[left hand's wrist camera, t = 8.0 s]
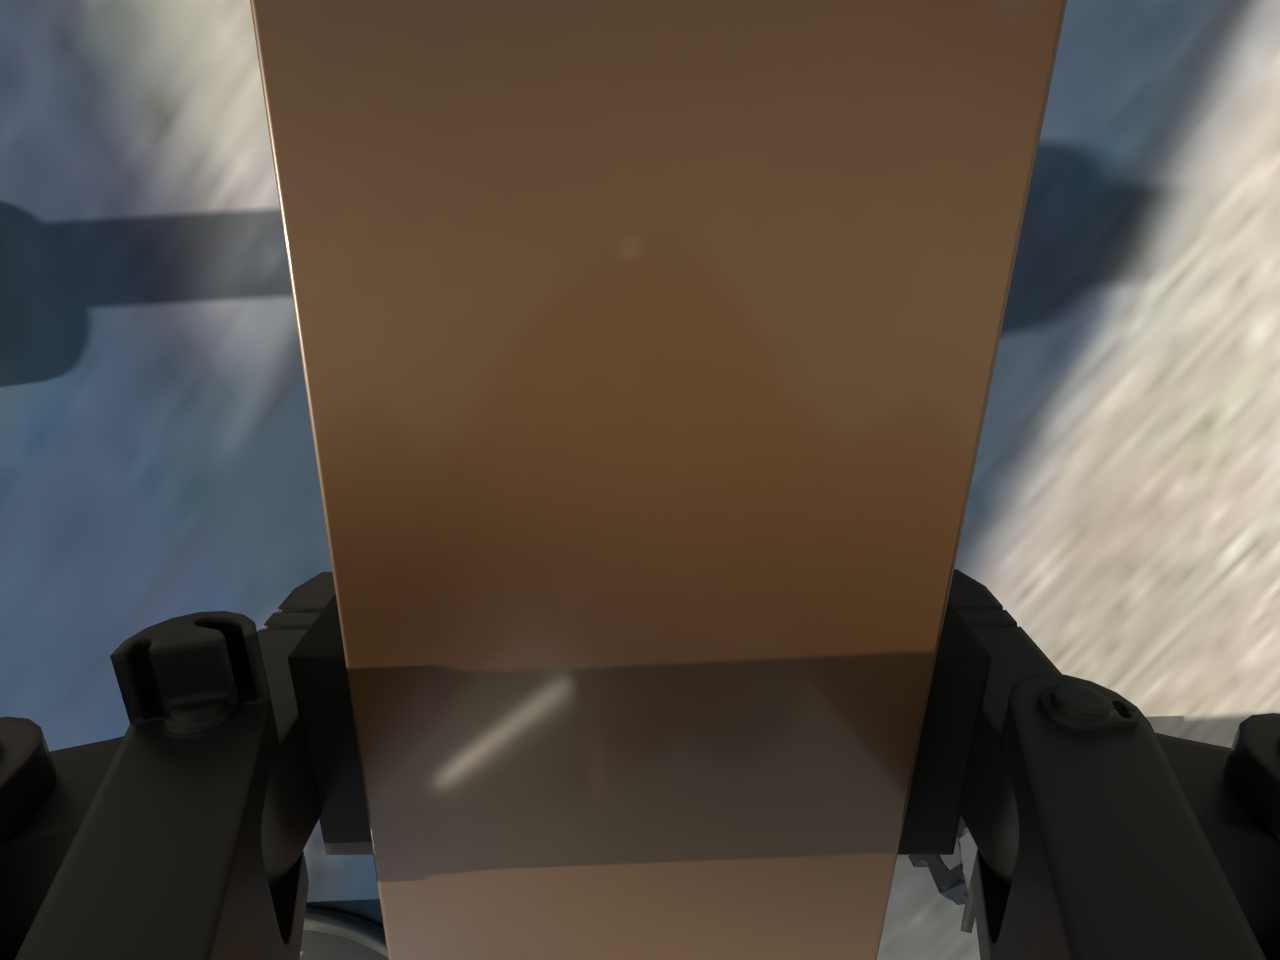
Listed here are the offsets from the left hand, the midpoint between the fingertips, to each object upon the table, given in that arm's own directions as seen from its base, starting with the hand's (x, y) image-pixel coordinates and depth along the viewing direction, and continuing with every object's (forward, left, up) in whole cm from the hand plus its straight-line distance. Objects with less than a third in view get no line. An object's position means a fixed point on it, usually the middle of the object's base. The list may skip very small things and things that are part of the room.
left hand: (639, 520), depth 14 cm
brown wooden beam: (+19, +14, 0) cm, 23 cm away
